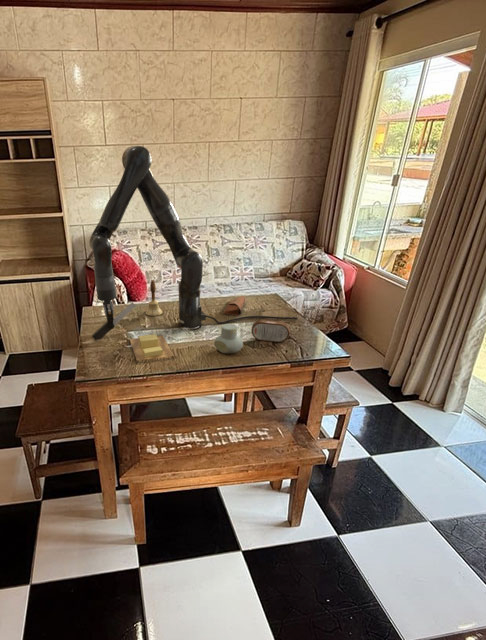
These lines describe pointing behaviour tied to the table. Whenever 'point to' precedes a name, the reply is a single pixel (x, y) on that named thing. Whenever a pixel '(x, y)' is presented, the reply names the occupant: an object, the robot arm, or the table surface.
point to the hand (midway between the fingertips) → (110, 327)
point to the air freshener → (228, 339)
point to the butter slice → (152, 351)
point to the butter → (148, 341)
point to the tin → (270, 330)
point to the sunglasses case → (235, 306)
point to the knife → (104, 328)
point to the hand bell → (153, 302)
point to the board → (140, 356)
